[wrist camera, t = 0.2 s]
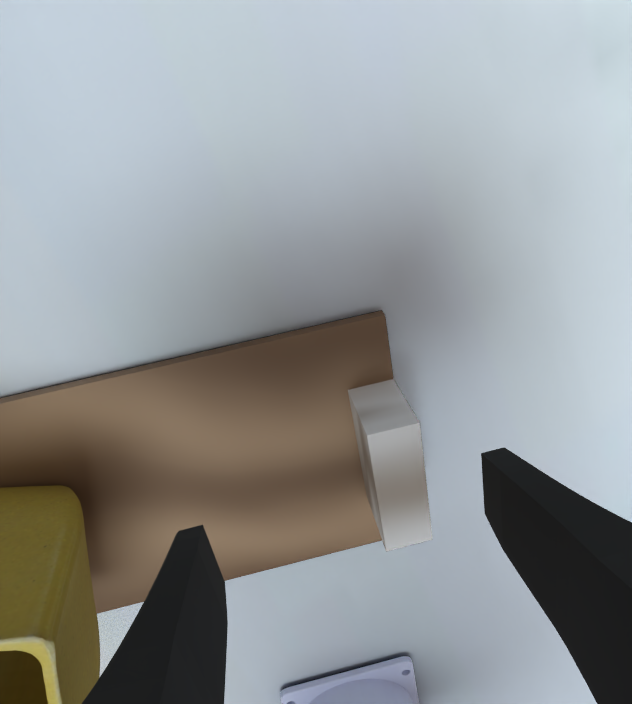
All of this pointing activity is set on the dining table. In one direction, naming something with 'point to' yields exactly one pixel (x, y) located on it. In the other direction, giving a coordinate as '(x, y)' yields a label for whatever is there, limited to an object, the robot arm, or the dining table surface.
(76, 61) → the dining table surface
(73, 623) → the flower pot
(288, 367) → the brown wooden flat board
